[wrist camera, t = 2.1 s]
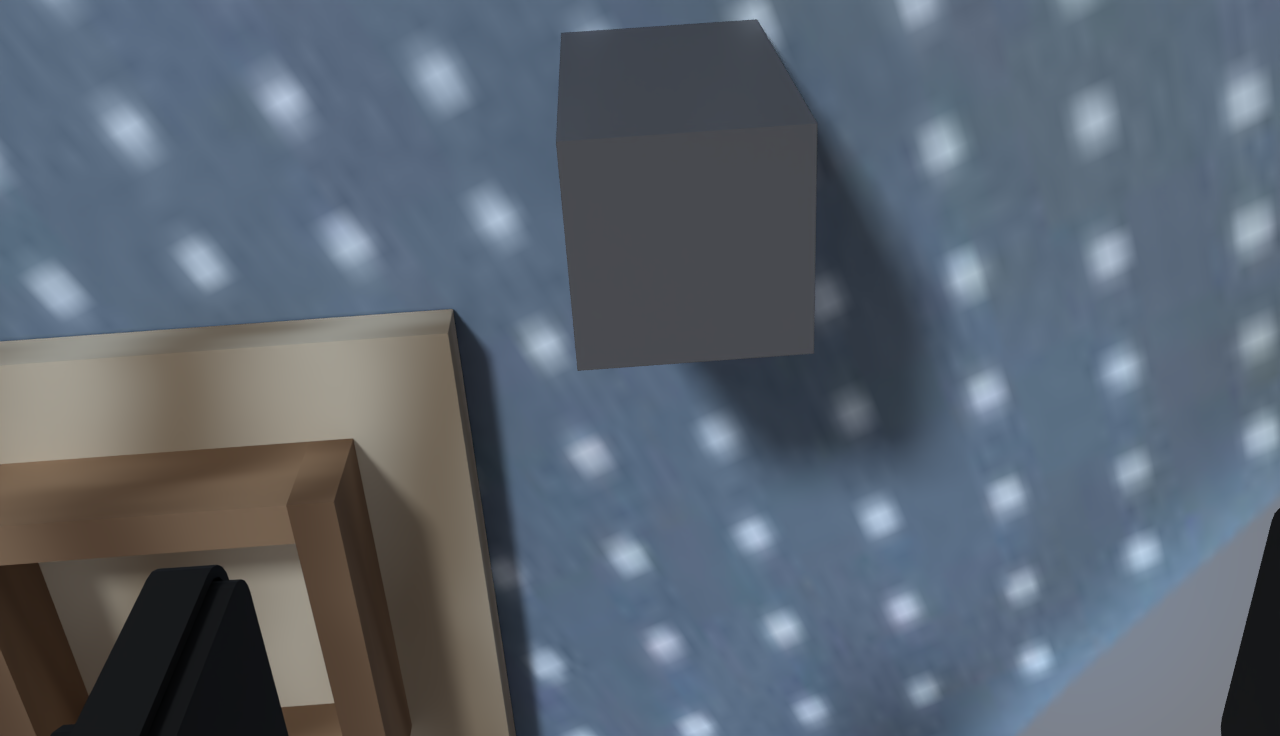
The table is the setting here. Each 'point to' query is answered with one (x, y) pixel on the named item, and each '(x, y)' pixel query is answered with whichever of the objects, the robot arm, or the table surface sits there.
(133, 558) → the end holder
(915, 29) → the table surface
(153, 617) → the robot arm
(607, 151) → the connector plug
